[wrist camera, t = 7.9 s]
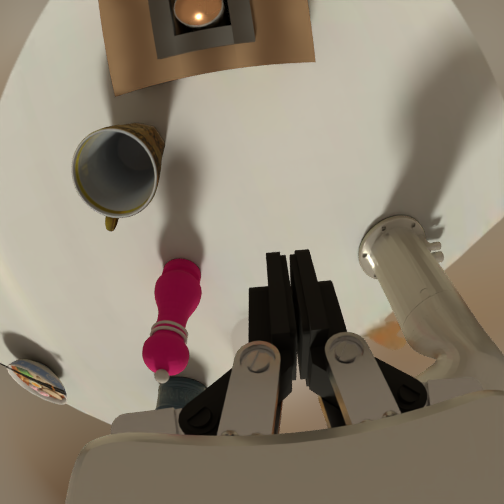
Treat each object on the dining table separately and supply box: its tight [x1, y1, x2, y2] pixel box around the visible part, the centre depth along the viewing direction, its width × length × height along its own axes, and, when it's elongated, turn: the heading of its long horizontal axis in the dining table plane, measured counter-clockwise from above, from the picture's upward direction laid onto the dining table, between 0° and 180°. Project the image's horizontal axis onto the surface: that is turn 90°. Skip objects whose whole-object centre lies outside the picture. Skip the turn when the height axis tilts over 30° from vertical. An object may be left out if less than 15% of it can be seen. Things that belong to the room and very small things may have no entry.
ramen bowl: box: [0, 359, 67, 404], centre depth 66 cm, size 25×23×8 cm
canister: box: [155, 377, 206, 410], centre depth 63 cm, size 13×13×18 cm
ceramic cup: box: [72, 123, 165, 231], centre depth 31 cm, size 13×10×10 cm
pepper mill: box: [142, 258, 202, 383], centre depth 39 cm, size 7×7×20 cm
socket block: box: [98, 0, 315, 97], centre depth 22 cm, size 20×14×8 cm
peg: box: [174, 0, 227, 31], centre depth 21 cm, size 4×4×8 cm
